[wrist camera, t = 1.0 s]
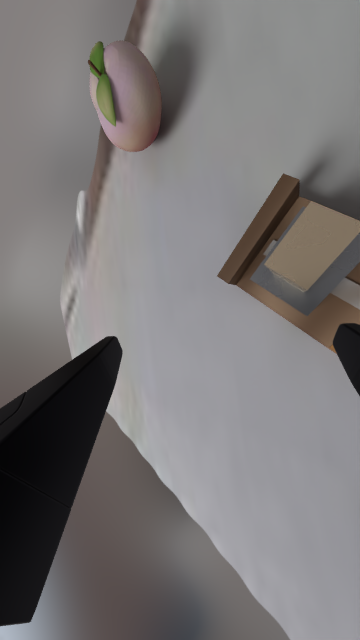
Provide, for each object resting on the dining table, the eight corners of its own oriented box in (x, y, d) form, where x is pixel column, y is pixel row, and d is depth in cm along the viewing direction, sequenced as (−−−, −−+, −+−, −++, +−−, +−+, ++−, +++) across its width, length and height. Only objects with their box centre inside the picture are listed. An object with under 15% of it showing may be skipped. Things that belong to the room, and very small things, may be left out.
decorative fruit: (188, 134, 25) (131, 49, 16) (145, 180, 29) (83, 132, 20) (163, 76, 26) (98, -32, 17) (126, 130, 30) (59, 64, 21)
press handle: (369, 247, 15) (432, 205, 8) (306, 314, 18) (312, 325, 11) (302, 216, 18) (305, 162, 10) (254, 280, 20) (231, 272, 13)
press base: (597, 330, 12) (739, 346, 8) (435, 419, 16) (479, 458, 12) (285, 197, 20) (283, 173, 16) (229, 279, 24) (217, 275, 20)
